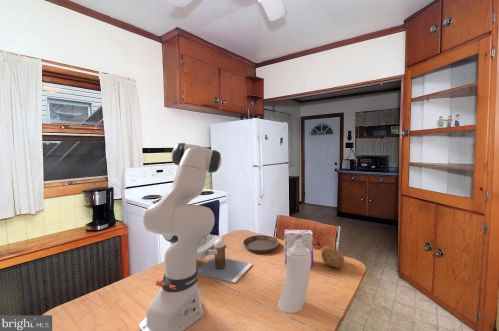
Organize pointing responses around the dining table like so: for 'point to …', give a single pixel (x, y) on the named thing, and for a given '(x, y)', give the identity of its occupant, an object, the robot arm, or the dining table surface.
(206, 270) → the mat
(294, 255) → the spray can
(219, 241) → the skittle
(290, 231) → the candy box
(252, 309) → the dining table surface
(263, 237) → the plant saucer
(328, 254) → the potato
